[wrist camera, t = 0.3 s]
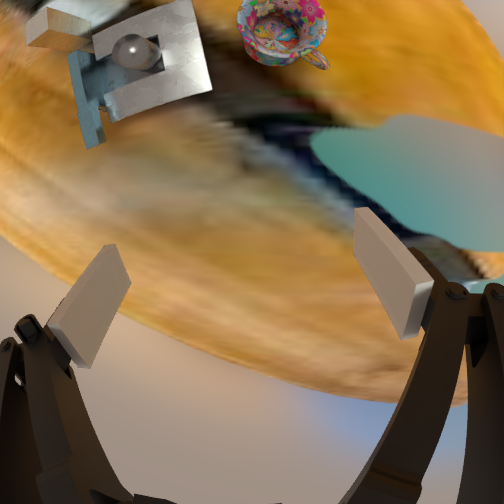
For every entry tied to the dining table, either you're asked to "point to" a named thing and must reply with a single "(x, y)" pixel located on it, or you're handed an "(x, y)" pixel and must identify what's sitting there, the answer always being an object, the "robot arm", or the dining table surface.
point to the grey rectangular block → (57, 30)
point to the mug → (282, 31)
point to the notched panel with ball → (139, 67)
